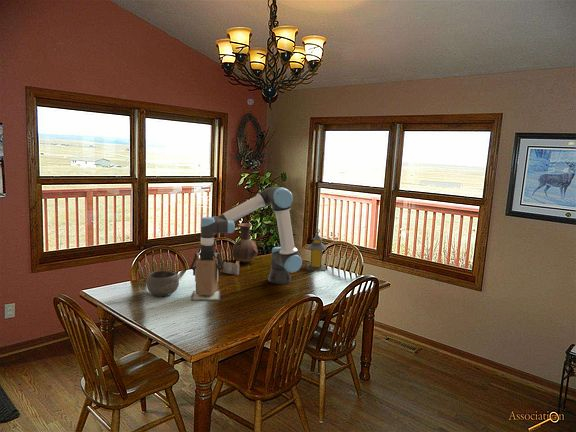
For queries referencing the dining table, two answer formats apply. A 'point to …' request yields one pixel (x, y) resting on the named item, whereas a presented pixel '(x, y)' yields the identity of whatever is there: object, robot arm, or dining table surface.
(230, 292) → the dining table surface
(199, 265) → the wooden block
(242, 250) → the vase
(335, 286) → the dining table surface
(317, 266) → the lantern
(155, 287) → the bowl
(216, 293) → the mat
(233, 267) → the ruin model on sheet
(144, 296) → the dining table surface
